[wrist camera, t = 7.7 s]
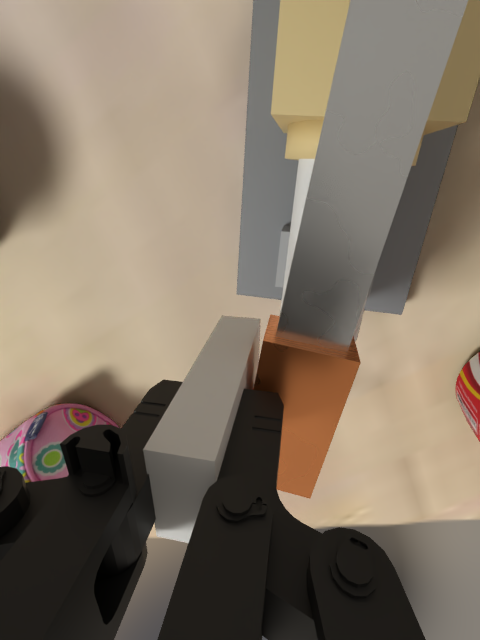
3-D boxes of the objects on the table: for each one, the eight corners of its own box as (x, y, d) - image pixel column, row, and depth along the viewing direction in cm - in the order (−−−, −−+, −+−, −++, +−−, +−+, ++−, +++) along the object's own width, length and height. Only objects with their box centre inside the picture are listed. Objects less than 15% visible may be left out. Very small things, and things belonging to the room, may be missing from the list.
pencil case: (81, 375, 29) (-8, 455, 21) (150, 446, 31) (93, 544, 23) (-29, 456, 37) (-123, 535, 29) (31, 507, 39) (-42, 595, 31)
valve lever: (368, -212, 6) (390, -358, 4) (549, -206, 6) (646, -361, 4) (239, 438, 13) (229, 476, 11) (315, 457, 12) (315, 500, 11)
